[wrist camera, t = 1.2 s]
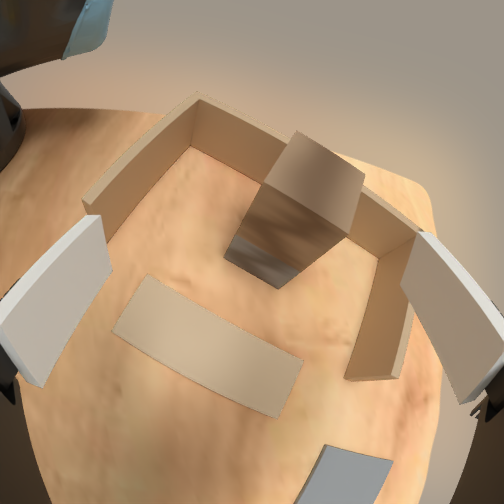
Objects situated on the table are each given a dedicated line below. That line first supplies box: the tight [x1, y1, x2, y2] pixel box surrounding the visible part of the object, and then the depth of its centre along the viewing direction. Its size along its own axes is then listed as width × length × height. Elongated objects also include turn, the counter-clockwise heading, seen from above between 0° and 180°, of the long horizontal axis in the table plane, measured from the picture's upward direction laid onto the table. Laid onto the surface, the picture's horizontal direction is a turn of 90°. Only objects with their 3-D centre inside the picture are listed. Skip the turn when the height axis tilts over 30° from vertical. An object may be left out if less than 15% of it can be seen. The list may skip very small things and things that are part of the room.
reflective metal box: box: [223, 131, 365, 289], centre depth 23 cm, size 6×6×12 cm
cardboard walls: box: [81, 91, 424, 420], centre depth 24 cm, size 28×22×7 cm
